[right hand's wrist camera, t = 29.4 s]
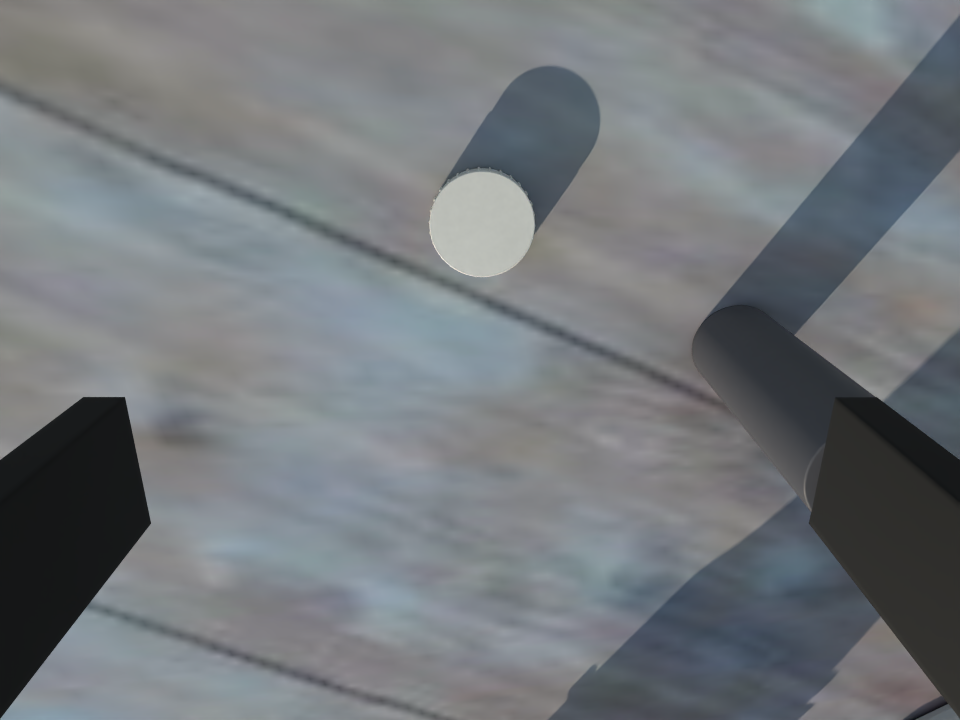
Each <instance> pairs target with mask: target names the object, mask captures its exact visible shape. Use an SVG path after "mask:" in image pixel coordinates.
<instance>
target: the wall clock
mask: <svg viewBox="0 0 960 720" xmlns="http://www.w3.org/2000/svg"><path fill="white" fill-rule="evenodd" d="M916 720H960V718H959V717H958V716H957V714H956V713H955V712H954V710H953V709H952V708H951V707H950V705H949V704H947V705H945V706H943V707H941V708H939V709H937V710H934V711H932V712H930V713H928V714H926V715H924V716H922V717H920V718H918V719H916Z"/></svg>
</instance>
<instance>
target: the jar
mask: <svg viewBox="0 0 960 720" xmlns="http://www.w3.org/2000/svg"><path fill="white" fill-rule="evenodd" d="M692 356H693V361H694V364H695V366H696V368H697V369H698V371H699V372H700V373H701V375H702V376H703V377H704V378H705V380H706V381H707V382H708V383H709V385H710V386H711V387H712V388H713V390H714V391H715V392H716V393H717V395H718V396H719V397H720V398H721V400H722V401H723V402H724V403H725V405H726V406H727V407H728V408H729V410H730V411H731V412H732V413H733V415H734V416H735V417H736V418H737V420H738V421H739V422H740V424H741V425H742V426H743V427H744V429H745V430H746V431H747V432H748V434H749V435H750V436H751V437H752V439H753V440H754V441H755V442H756V444H757V445H758V446H759V447H760V449H761V450H762V451H763V452H764V454H765V455H766V456H767V457H768V459H769V460H770V461H771V462H772V464H773V465H774V466H775V467H776V469H777V470H778V471H779V472H780V474H781V475H782V476H783V477H784V479H785V480H786V481H787V482H788V484H789V485H790V486H791V487H792V489H793V490H794V491H795V492H796V494H797V495H798V496H799V497H800V499H801V500H802V501H803V502H804V504H805V505H806V506H807V507H808V509H809V510H810V511H812V507H813V502H814V497H815V492H816V487H817V482H818V478H819V473H820V468H821V463H822V458H823V453H824V449H825V444H826V439H827V434H828V429H829V424H830V420H831V415H832V410H833V405H834V400H835V397H875V396H873V395H872V394H871V393H869V392H868V391H867V390H865V389H864V388H863V387H861V386H860V385H859V384H857V383H856V382H855V381H854V380H852V379H851V378H850V377H848V376H847V375H846V374H844V373H843V372H842V371H840V370H839V369H838V368H836V367H835V366H834V365H832V364H831V363H830V362H828V361H827V360H826V359H824V358H823V357H822V356H821V355H819V354H818V353H817V352H815V351H814V350H813V349H811V348H810V347H809V346H807V345H806V344H805V343H803V342H802V341H801V340H799V339H798V338H797V337H795V336H794V335H793V334H792V333H790V332H789V331H788V330H786V329H785V328H784V327H782V326H781V325H780V324H778V323H777V322H776V321H774V320H773V319H772V318H770V317H769V316H768V315H766V314H765V313H764V312H762V311H761V310H759V309H756V308H754V307H750V306H744V305H737V306H731V307H727V308H724V309H721V310H719V311H717V312H715V313H714V314H712V315H711V316H710V317H708V318H707V319H706V320H705V321H704V322H703V323H702V325H701V326H700V327H699V329H698V331H697V332H696V335H695V337H694V340H693V345H692Z"/></svg>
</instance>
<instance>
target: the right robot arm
mask: <svg viewBox="0 0 960 720" xmlns="http://www.w3.org/2000/svg"><path fill="white" fill-rule="evenodd" d="M150 524H151V521H150V516H149V511H148V507H147V502H146V497H145V492H144V487H143V482H142V478H141V473H140V468H139V463H138V458H137V453H136V449H135V444H134V439H133V434H132V429H131V424H130V420H129V415H128V410H127V405H126V400H125V397H83V398H82V399H80V400H79V401H78V402H76V403H75V404H74V405H72V406H71V407H70V408H69V409H67V410H66V411H65V412H63V413H62V414H61V415H59V416H58V417H57V418H55V419H54V420H53V421H51V422H50V423H49V424H47V425H46V426H45V427H43V428H42V429H41V430H39V431H38V432H37V433H35V434H34V435H33V436H31V437H30V438H29V439H27V440H26V441H25V442H24V443H22V444H21V445H20V446H18V447H17V448H16V449H14V450H13V451H12V452H10V453H9V454H8V455H6V456H5V457H4V458H2V459H1V460H0V718H1V717H2V716H3V714H4V713H5V712H6V710H7V709H8V708H9V707H10V705H11V704H12V703H13V701H14V700H15V699H16V698H17V696H18V695H19V694H20V692H21V691H22V690H23V688H24V687H25V686H26V685H27V683H28V682H29V681H30V679H31V678H32V677H33V676H34V674H35V673H36V672H37V670H38V669H39V668H40V666H41V665H42V664H43V663H44V661H45V660H46V659H47V657H48V656H49V655H50V653H51V652H52V651H53V650H54V648H55V647H56V646H57V644H58V643H59V642H60V641H61V639H62V638H63V637H64V635H65V634H66V633H67V631H68V630H69V629H70V628H71V626H72V625H73V624H74V622H75V621H76V620H77V619H78V617H79V616H80V615H81V613H82V612H83V611H84V609H85V608H86V607H87V606H88V604H89V603H90V602H91V600H92V599H93V598H94V597H95V595H96V594H97V593H98V591H99V590H100V589H101V587H102V586H103V585H104V584H105V582H106V581H107V580H108V578H109V577H110V576H111V575H112V573H113V572H114V571H115V569H116V568H117V567H118V565H119V564H120V563H121V562H122V560H123V559H124V558H125V556H126V555H127V554H128V553H129V551H130V550H131V549H132V547H133V546H134V545H135V543H136V542H137V541H138V540H139V538H140V537H141V536H142V534H143V533H144V532H145V530H146V529H147V528H148V527H149V525H150ZM809 524H810V525H811V527H812V528H813V529H814V530H815V532H816V533H817V534H818V536H819V537H820V538H821V540H822V541H823V542H824V543H825V545H826V546H827V547H828V549H829V550H830V551H831V553H832V554H833V555H834V556H835V558H836V559H837V560H838V562H839V563H840V564H841V565H842V567H843V568H844V569H845V571H846V572H847V573H848V575H849V576H850V577H851V578H852V580H853V581H854V582H855V584H856V585H857V586H858V587H859V589H860V590H861V591H862V593H863V594H864V595H865V597H866V598H867V599H868V600H869V602H870V603H871V604H872V606H873V607H874V608H875V609H876V611H877V612H878V613H879V615H880V616H881V617H882V619H883V620H884V621H885V622H886V624H887V625H888V626H889V628H890V629H891V630H892V631H893V633H894V634H895V635H896V637H897V638H898V639H899V641H900V642H901V643H902V644H903V646H904V647H905V648H906V650H907V651H908V652H909V653H910V655H911V656H912V657H913V659H914V660H915V661H916V663H917V664H918V665H919V666H920V668H921V669H922V670H923V672H924V673H925V674H926V676H927V677H928V678H929V679H930V681H931V682H932V683H933V685H934V686H935V687H936V688H937V690H938V691H939V692H940V694H941V695H942V696H943V698H944V699H945V700H946V701H947V703H948V704H949V705H950V707H951V708H952V709H953V710H954V712H955V713H956V714H957V716H958V717H959V718H960V460H959V459H958V458H956V457H955V456H954V455H952V454H951V453H950V452H948V451H947V450H946V449H944V448H943V447H942V446H940V445H939V444H938V443H936V442H935V441H934V440H932V439H931V438H930V437H929V436H927V435H926V434H925V433H923V432H922V431H921V430H919V429H918V428H917V427H915V426H914V425H913V424H911V423H910V422H909V421H907V420H906V419H905V418H903V417H902V416H901V415H899V414H898V413H897V412H895V411H894V410H893V409H891V408H890V407H889V406H888V405H886V404H885V403H884V402H882V401H881V400H880V399H878V398H877V397H835V400H834V405H833V410H832V415H831V420H830V424H829V429H828V434H827V439H826V444H825V449H824V453H823V458H822V463H821V468H820V473H819V478H818V482H817V487H816V492H815V497H814V502H813V507H812V511H811V516H810V521H809Z"/></svg>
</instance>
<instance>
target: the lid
mask: <svg viewBox="0 0 960 720" xmlns="http://www.w3.org/2000/svg"><path fill="white" fill-rule="evenodd" d="M439 191H440V192H439V193H438V195H437V197H436V196H435V198H434V200H433V201H434V204H433V207H431V209H430V212H431V215H430V219H429V223H430V234H431V238H432V241H433V245H434V246H435V248H436V250H437V252H438V254H439V255H440V256H441V258H442V259H443V260H444V261H445V262H446V263H447V264H448V265H450V266H451V267H452V268H454V269H455V270H457V271H459V272H461V273H463V274H467V275H470V276H475V277H489V276H494V275H498V274H501V273H503V272H505V271H507V270H509V269H511V268H512V267H514V266H515V265H516V264H517V263H518V262H519V261H520V260H521V259H522V258H523V257H524V256H525V254H526V253H527V251H528V249H529V248H530V245H531V243H532V240H533V238H534V231H535V227H536V225H535V217H534V216H535V213H534V211H533V208H532V205H533V204H532V202H531V200H530V201H529V199H528V197H527V195H528V194H527V192H526V190H525V191H524V190H523V188H522V187H521V184H520V182H518V183H517V182H516V181H515V180H514V179H513V178H512V176H511V175H507V174H505V173H503V172H502V170H500V171H498V170H494V169H491V167H489V168H480V167H478V168H475V169H470V170H469V168H468V169H467V171H464V172H461V173H460V174H459V173H457V174H456V176H454V177H453V178H452V179H448V180H447V183H446V184H445V185H444V186H443V188H442V187H441V188H440V190H439Z"/></svg>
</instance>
